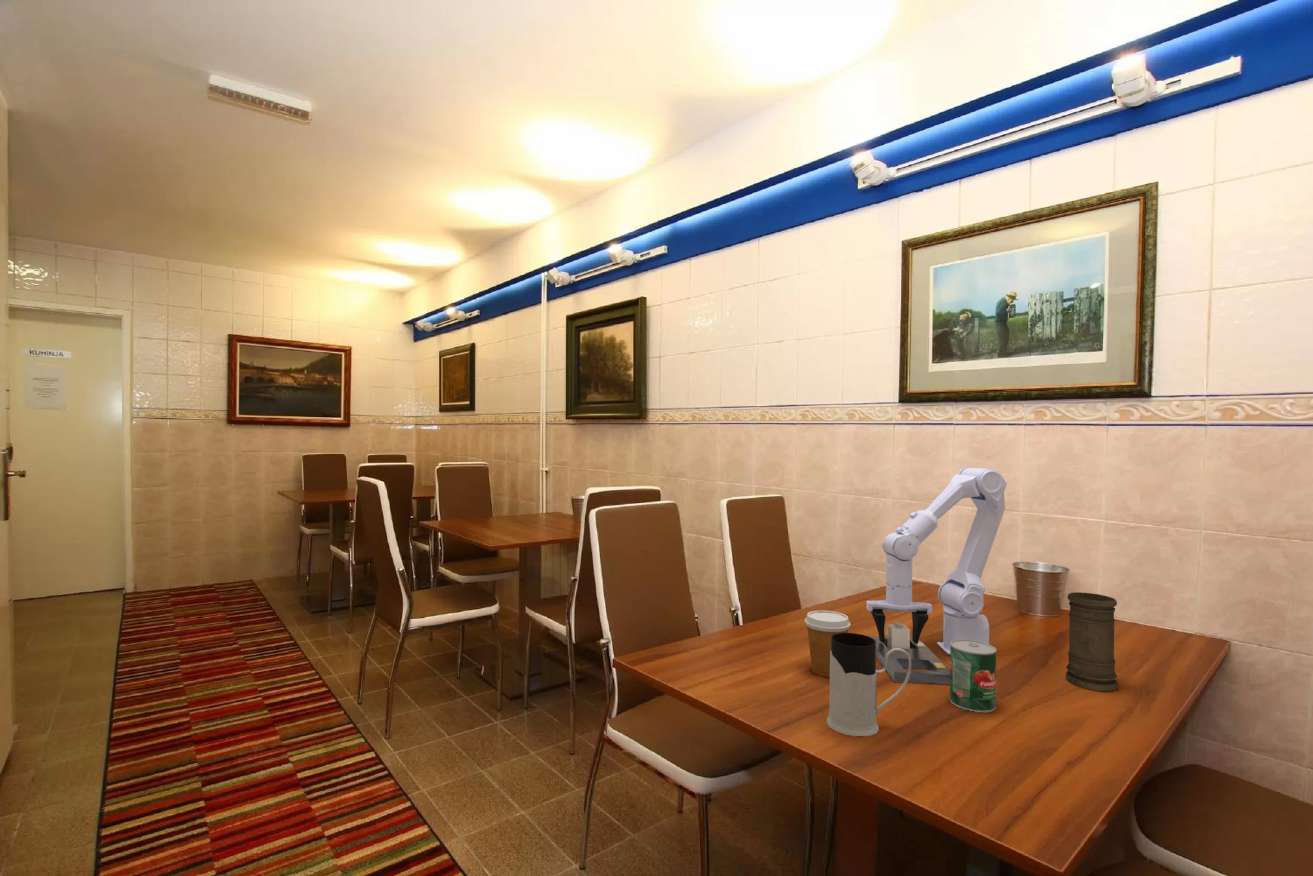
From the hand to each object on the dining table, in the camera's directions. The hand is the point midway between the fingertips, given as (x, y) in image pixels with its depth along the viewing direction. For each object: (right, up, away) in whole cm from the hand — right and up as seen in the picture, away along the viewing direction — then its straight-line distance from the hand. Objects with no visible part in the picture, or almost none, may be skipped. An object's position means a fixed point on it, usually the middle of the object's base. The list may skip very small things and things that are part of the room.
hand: (898, 641), depth 147 cm
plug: (0, -3, 0) cm, 2 cm away
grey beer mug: (-20, -2, -38) cm, 43 cm away
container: (+33, -3, -18) cm, 38 cm away
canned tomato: (+3, -3, -28) cm, 29 cm away
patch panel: (-1, -2, -7) cm, 7 cm away
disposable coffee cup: (-20, -2, -13) cm, 24 cm away
